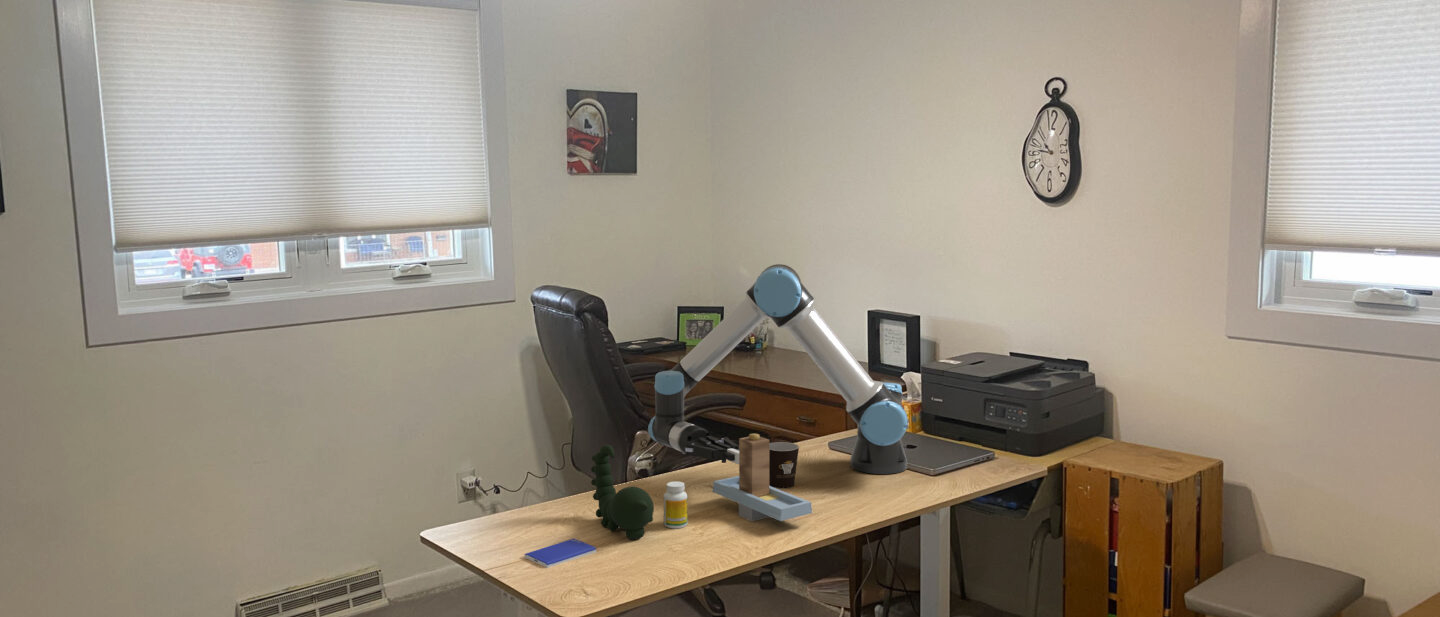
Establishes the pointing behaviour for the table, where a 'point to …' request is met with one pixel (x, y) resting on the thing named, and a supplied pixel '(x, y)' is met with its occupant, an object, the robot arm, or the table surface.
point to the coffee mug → (782, 464)
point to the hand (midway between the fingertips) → (745, 460)
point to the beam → (762, 501)
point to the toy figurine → (619, 500)
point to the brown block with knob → (754, 465)
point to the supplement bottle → (675, 505)
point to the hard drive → (560, 553)
